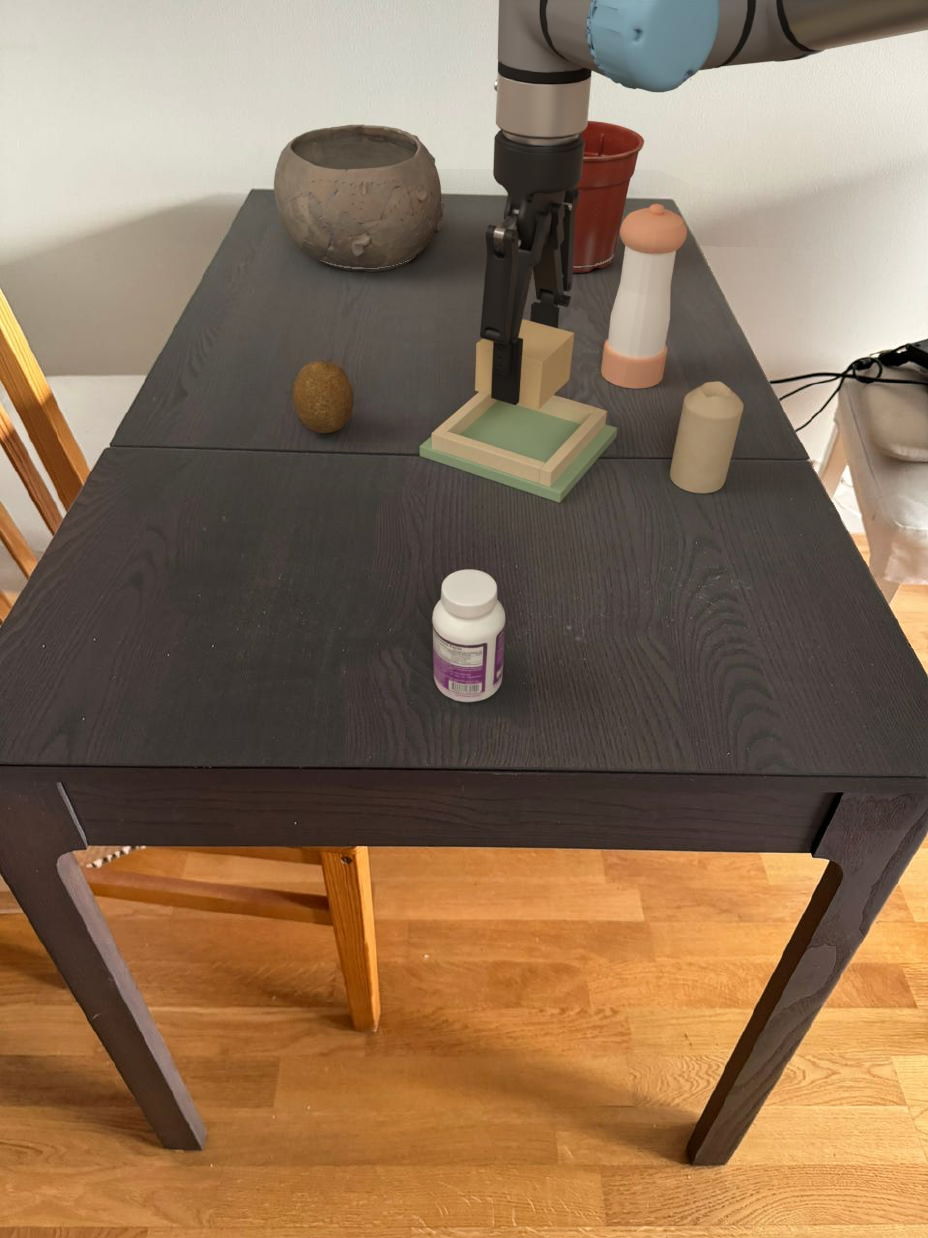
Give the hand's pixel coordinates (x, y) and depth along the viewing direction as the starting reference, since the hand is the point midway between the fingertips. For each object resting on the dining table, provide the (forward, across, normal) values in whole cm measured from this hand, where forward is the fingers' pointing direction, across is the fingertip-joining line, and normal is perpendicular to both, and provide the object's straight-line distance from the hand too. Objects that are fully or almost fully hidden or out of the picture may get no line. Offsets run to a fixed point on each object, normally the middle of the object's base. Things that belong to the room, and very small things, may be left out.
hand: (523, 382), depth 92 cm
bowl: (+8, -34, -43) cm, 56 cm away
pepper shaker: (+8, -21, +4) cm, 23 cm away
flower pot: (+8, -49, -17) cm, 52 cm away
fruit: (+8, +8, -19) cm, 22 cm away
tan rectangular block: (0, 0, 0) cm, 0 cm away
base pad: (+7, 0, 0) cm, 7 cm away
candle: (+7, -4, +18) cm, 20 cm away
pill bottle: (+7, +32, +12) cm, 35 cm away
